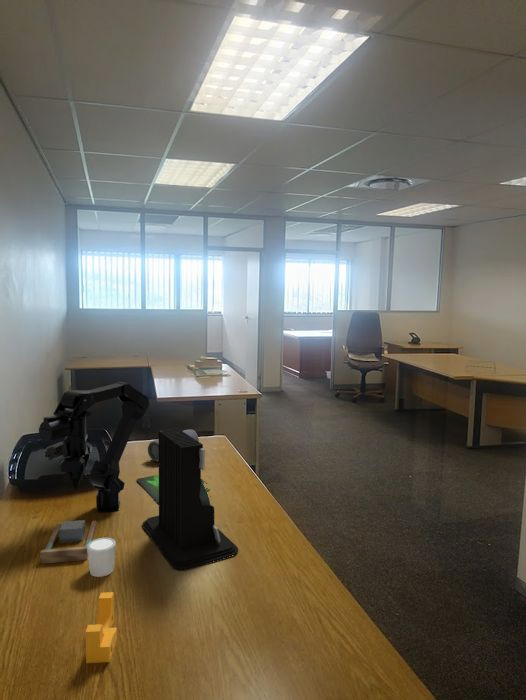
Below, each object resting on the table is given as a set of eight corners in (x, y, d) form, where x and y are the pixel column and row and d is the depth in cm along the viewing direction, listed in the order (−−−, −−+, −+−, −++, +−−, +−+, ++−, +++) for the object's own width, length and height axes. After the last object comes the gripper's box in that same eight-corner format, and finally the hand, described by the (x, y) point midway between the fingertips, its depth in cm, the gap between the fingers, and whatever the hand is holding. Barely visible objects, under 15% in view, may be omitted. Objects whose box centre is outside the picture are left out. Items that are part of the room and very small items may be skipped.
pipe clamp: (109, 662, 91) (109, 630, 90) (86, 663, 91) (85, 631, 90) (122, 620, 103) (122, 591, 102) (101, 621, 103) (101, 592, 102)
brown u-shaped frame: (96, 524, 145) (96, 515, 145) (86, 559, 126) (86, 548, 126) (56, 527, 143) (56, 517, 143) (40, 563, 124) (40, 552, 123)
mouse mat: (221, 495, 170) (221, 492, 169) (161, 508, 158) (161, 505, 158) (189, 470, 192) (189, 468, 192) (134, 481, 181) (134, 478, 180)
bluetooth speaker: (163, 466, 196) (162, 442, 195) (146, 461, 201) (146, 438, 200) (199, 451, 215) (199, 429, 214) (184, 448, 220) (184, 426, 219)
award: (242, 554, 130) (243, 446, 127) (176, 573, 121) (176, 457, 117) (197, 510, 156) (197, 419, 153) (139, 523, 147) (138, 427, 143)
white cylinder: (121, 566, 123) (121, 539, 123) (104, 580, 117) (104, 553, 116) (99, 560, 126) (98, 535, 125) (81, 574, 119) (80, 547, 118)
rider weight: (85, 533, 140) (85, 520, 140) (82, 541, 135) (82, 528, 135) (63, 534, 139) (63, 521, 139) (59, 543, 134) (59, 529, 134)
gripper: (53, 426, 151) (55, 474, 153) (39, 444, 133) (40, 498, 134) (91, 424, 153) (92, 472, 155) (81, 442, 135) (83, 496, 137)
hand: (77, 484), depth 145 cm, fingers open, 7 cm apart
